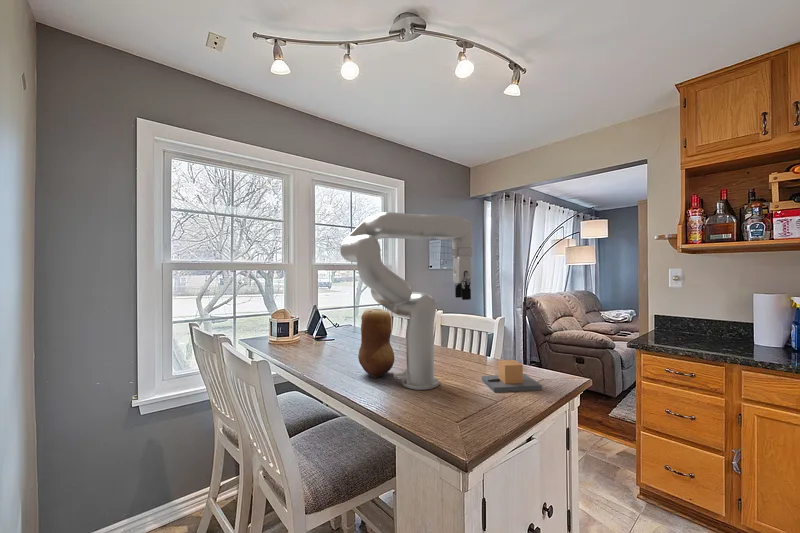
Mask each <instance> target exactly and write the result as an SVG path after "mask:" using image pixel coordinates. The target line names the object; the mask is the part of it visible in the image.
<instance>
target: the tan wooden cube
mask: <svg viewBox="0 0 800 533" xmlns="http://www.w3.org/2000/svg"><path fill="white" fill-rule="evenodd" d="M497 362H498V363H497V365H498V371H497V372H498V374H497V375H498V378H499V379H500V380H501V381H503V382H504V383H505V384H510V383H523V374H524V372H523V364H522V363H520V362H519V361H517V360H515V359H510V360H508V359H507V360H498V361H497Z"/></svg>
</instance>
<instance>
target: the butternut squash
mask: <svg viewBox="0 0 800 533" xmlns="http://www.w3.org/2000/svg"><path fill="white" fill-rule="evenodd" d="M360 323H361V324H360V334H361V339H360V341H361V342H360V347H359V350H358V362H359V364H360V366H361V367H362V369H363V371H365V373H366V374H368V375H369V376H370V377H371V376H372V378H375V377H376V378H379V377H382V376H384V375H386V374H387V373H388V372H390V371H391V369H392V368H393V366H394V363H395V353H394V350H393V347H392V345H391V341H390V340H391V335H392V317H391V314H390V313H389V311H387V310H385V309H383V308H367V309H365V310H364V311H363V313H362V315H361V322H360Z"/></svg>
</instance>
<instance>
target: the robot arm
mask: <svg viewBox="0 0 800 533" xmlns="http://www.w3.org/2000/svg"><path fill="white" fill-rule="evenodd" d="M431 238H435V239H437V240H440V241H444V240H451V255H452V256H451V257H452V258H453V262H452V282H453V283H454V290H455V292H454V296H455V298H457V299H458V298H460V299H461V300H463V301H470V300H471V299H472V296H471V295H472V292H471V291H472V290H471V289H472V288H471V287H472V286H471V284H472V264H471V263H472V262H471V258H473V225H472V222H471V221H470V220H468V219H467V220H466V219H464V218H463V217H461V216H457V215H449V214H421V213H420V214H415V213H405V212H394V211H393V212H391V211H383V212H377V213H375V214H372V215H369V216H368V217H366V218H365V219H364V220H363V221H362V222H360V224H359V225H357V226H356V228H355V229H353V230H352V231H351V232H350V233H349V234H348V235H347V236H346V237H344V239H343V240H342V242H341V245H340V247H339V248H340V254H341V256H342V258H343V259H344V260H345V261H347V262H350V263H356V264H357V265H356V267H357V271H358V275H359V278H360V281H361V282H363V284H364V285H365V286H367V287H368V288H369V289H370V294H371V296H372V299H374V301H375V302H376V303H377V304H378V305H381V306H382V307H383V308H385V309H387V310H388V311H390V312H392V313H393V314H395V315H397V316H399V317H401V318H405V319H409V320H408V323H407V326H406V330H405V341H406V342H405V344H406V345H405V346H406V352H405V353H406V368H404V371H402V372H393V379H397V380H398V381H400V380H402V383H401V384H402V386H404V388H407V389H411V390H416V391H417V390H419V391H420V390H421V391H423V390H426V391H427V390H430V389H434V388H436V387H438V386H439V384H440V380H439V379H438V378H437V377H435V341H434V340H435V339H434V338H435V336H434V328H435V327H434V326H435V319H436V318H435V317H436V312H437V303H436V300H435V299H434V298H433V296H431V294H429V293H427V292H421V291H420V292H419V291H413V290H412V288H411V286H410V284H409V283H408V281H407V280H406V279H404V278H403V277H400V276H399V275H398V274H396V273H394V271H392V270H390V269H389V268H388V267H387V266H386V265H385V264H384V263H383V261H382V255H381V244H380V242H379V241H378V240H381V239H407V240H425V239H431Z"/></svg>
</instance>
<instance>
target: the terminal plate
mask: <svg viewBox="0 0 800 533" xmlns="http://www.w3.org/2000/svg"><path fill="white" fill-rule="evenodd" d="M481 381H482V382H483V383H484V384H485V385H486V386H487V387H488V388H489V389H490V390H491V391H492V392H493V393H505V392H506V391H510V392H528V391H542V390H543V386H542V384H540V383H539V382H538V381H536V380H535V379H534V378H532V377H530V376H529V375H528V374H525V373H523V383H510V384H505V383H504V382H503V381H501V380H500V379H499V378H498V374H496V375H481Z"/></svg>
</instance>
